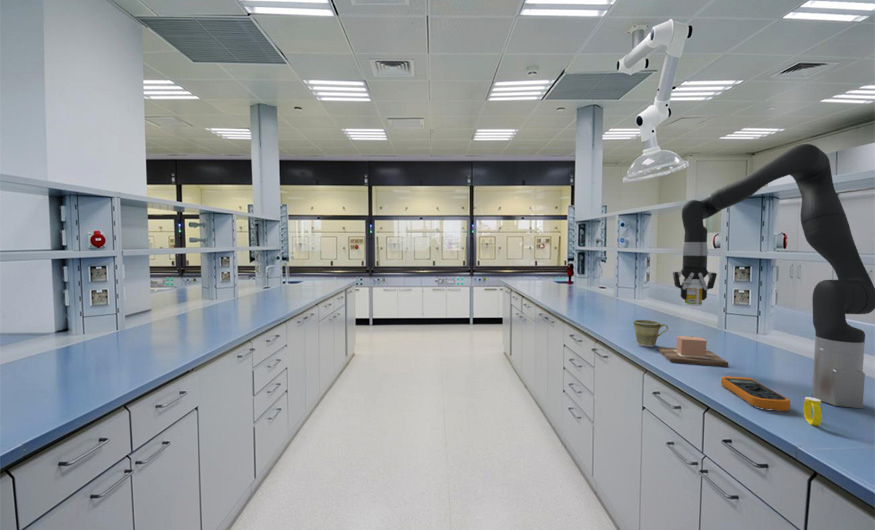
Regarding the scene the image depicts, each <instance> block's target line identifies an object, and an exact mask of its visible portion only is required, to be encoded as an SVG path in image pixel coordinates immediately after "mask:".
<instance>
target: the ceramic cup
mask: <svg viewBox="0 0 875 530" xmlns="http://www.w3.org/2000/svg"><path fill="white" fill-rule="evenodd" d="M633 326H634V331H635V338H636V344H637V345H638V346H639V345H640V346H641V347H643V346H645V347H644V348H654V347H653V346H655V347H656V343H657V340H658V337H659V336H661V335H663V334H665V332H667V331H668V330H669V327H668V325H667V324H663V323H661V322H659V321H656V320H651V319H649V320H648V319H635V320H633ZM662 327H666V329H665V330H664V331H662V332H660V333H659V331H660V329H661V328H662Z"/></svg>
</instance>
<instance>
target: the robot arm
mask: <svg viewBox="0 0 875 530" xmlns="http://www.w3.org/2000/svg"><path fill="white" fill-rule="evenodd" d="M788 176H791V178H793V180H794V181H795V183H796V185H797V187H798V188H797V189H798V190H799V193H800V195H801V205H800V206H801V207H800V223H801V228H802V230H803V235H804V237H805V239H806V240H805V241H806V242H807V243H808V244H809V245H810V246H811V248H812V249H813V250H815V251H816V252H817V253H818V254H819V255H820V256H821V257H822V258H823V259H824V260H826V262H828V263H829V264H830V266H831V267H832V268H833V271H834V273H835V274H836V277H837V279H824V280H820V281H819V282H818V283H817V284H816V285H815V287H814V289H813V292H812V323H813V327H814V331H815V335H814V336H815V338H814V339H815V340H814V352H813V353H814V354H813V356H814V357H813V372H812V389H811V397H812V398H816V399H819V400H821V402H823V403H827V404H830V405H831V406H835V407H844V408H853V409H855V408H856V409H864V395H865V394H864V393H865V378H866V377H865V376H866V373H865V372H864V360H865V357H864V356H865V345H866V344H865V343H866V342H865V340H866V333H865V331H864V330H862V329H860V328H857V327H855V326H852V325H850V324H849V323H848V322H847V319H846V315H867V314H868V315H869V314H870V313H872V312H873V311H875V285H874V283H873V280H872V279H871V277H870V275H869V273H868V271H867V269H866V267H865V266H864V263H863V261H862V258H861V256H860V253H859V252H858V249H857V248H858V247H857V246H856V243H855V241H854V237H853V234H852V231H851V227H850V224H849V221H848V217H847V215H846V212H845V210H844V207H843V204H842V202H841V200H840V198H839V196H838V194H837V192H836V189H835V186H834V181H833V180H834V179H833V174H832V169H831V162H830V158H829V157H828V154H826V153H825V152H824V151H823V150H821V149H820V148H819V147H817V145H814V144H811V143H803V144H798V145H795V146H793V147H791V148H789V149H788V150H786V151H784V152H782V153H780V155H778V156H776V157H775V158H773V159H772V160H770V161H769V162H767V163H765V164H764V165H762V166H761V167H759V168H757V169H755V170H754V171H752V172H751V173H749V174H747V175H746V176H743V177H741V178H740V179H738V180H736V181H734V182H731V183H729V184H727V185H726V186H723V187H721V188H718V189H716V190H715V191H713V192H712V193H711V194H710V195H709V196H707V197H705V198H704V199H702V200H696V199H693V200H692V199H691V200H689V201H687V202H686V203H685V204H684V205H683V207H682V209H681V220H682V224H683V228H684V229H683V230H684V237H683V238H684V239H683V241H684V242H683V246H682V247H683V249H682V269H681V270H679V271H673V272H672V277H673V283H674V287H676V288H678V289H680V298H682V300H684V301H685V300H686V293H687V290H686V287H687V286H688V284H689V283H690V281H691V279H700V281H701V282H700V285H701V286H702V301H705V300H706V299H707V298H708V290H711V289H713V288H714V287H715V283H716V279H717V276H718V274H717V273H716V272H714V271H713V272H712V271H711V272H710V271H708V269H707V268H708V254H709V252H708V251H709V249H708V229H707V227H705V225H704V220H705V219H707V218H710V217H712V216H715V215H716V214H718V213H719V212H721V211H722V210H724V209H727V208H730V207H732V206H734V205H737V204H739V203H741V202H744V201H745V200H746V199H749V198H750V197H752V196H753V195H755V194H756V193H757V192H758V191H759V190H761V189H762V188H763V187H765V186H766V185H768V184H770V183H771V182H774V181H776V180H778V179H782V178H785V177H788ZM681 275H682V276H683V280H682V283H681V281H680V277H681ZM706 277H708V281H707V283H706V280H705V278H706Z"/></svg>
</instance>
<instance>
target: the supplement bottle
mask: <svg viewBox="0 0 875 530" xmlns="http://www.w3.org/2000/svg"><path fill="white" fill-rule="evenodd" d="M700 282H701V281H700V279H691V281H690V283H689V284H688V286H687V287H686V290H687V293H686V300H684V304H685V305H686V306H694V307H695V306H696V307H697V306H699V307H700V306H702V305H703V300H702V286H701V285H700Z"/></svg>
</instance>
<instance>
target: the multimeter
mask: <svg viewBox="0 0 875 530" xmlns="http://www.w3.org/2000/svg"><path fill="white" fill-rule="evenodd" d="M720 379H721V380H720V383H721V386H722V387H723V388H724V387H725V389H726V388H727V389H726V390H728V391H729V390H730V391H729V392H731V391H732V392H731V393H733V394H734V393H735V394H734V395H736V396H737V395H738V396H737V397H738V398H740V397H741V398H742V399H741V398H740V399H741V400H743V399H744V400H745V401H744V400H743V401H744V402H746V401H747V402H748V403H750V404H751V405H753V406H756V407H759V408H763V409H772V410H780V411H779V412H783V411H785V412H788V411H790V409H791V399H789V398H787V397H786V396H784V395H783V394H780V393H778V392H777V391H775V390H773V389H770V388H769V387H767V386H766V385H764V384H762V383H760V382H759V381H757V380H755V379H754V378H751V377H741V376H728V375H727V376H721V377H720ZM747 402H746V403H747ZM748 403H747V404H748ZM750 404H749V405H750ZM751 405H750V406H751ZM753 406H752V407H753Z"/></svg>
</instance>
